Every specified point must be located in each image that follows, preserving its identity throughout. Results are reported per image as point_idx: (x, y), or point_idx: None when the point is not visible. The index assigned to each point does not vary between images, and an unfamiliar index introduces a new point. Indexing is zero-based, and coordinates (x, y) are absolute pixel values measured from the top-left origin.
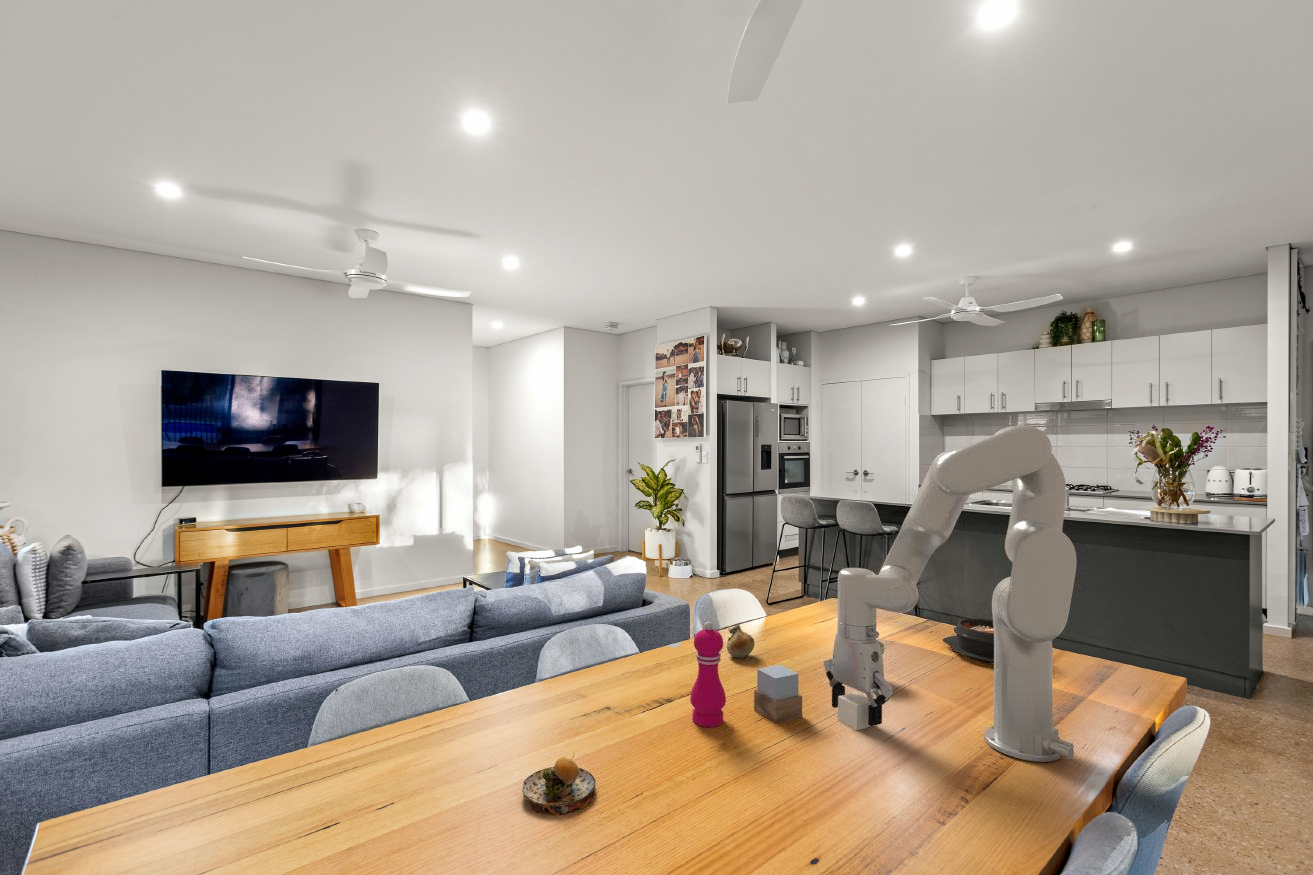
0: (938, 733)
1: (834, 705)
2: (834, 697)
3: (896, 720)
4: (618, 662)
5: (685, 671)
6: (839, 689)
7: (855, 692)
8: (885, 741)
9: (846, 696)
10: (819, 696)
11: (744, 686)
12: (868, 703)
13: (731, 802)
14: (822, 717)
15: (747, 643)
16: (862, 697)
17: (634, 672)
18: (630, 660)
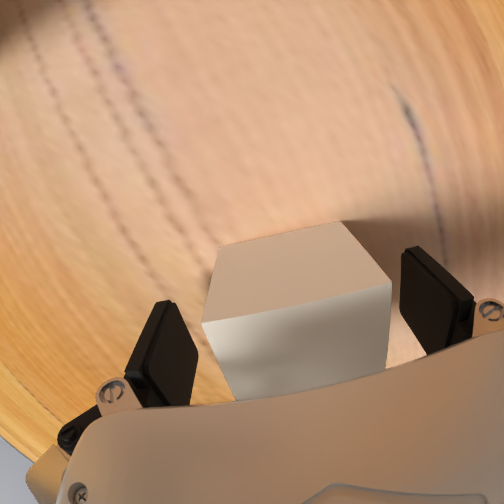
0: (463, 32)
1: (195, 360)
2: (190, 389)
3: (329, 78)
4: (16, 447)
5: (8, 420)
6: (170, 397)
7: (209, 329)
8: (450, 267)
9: (259, 397)
10: (35, 283)
11: (29, 399)
12: (387, 328)
13: None
14: (210, 369)
15: None
16: (308, 330)
17: (37, 456)
18: (5, 437)
